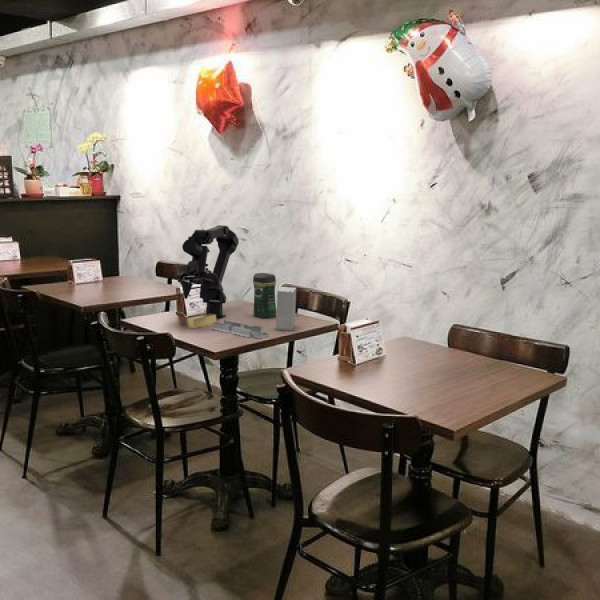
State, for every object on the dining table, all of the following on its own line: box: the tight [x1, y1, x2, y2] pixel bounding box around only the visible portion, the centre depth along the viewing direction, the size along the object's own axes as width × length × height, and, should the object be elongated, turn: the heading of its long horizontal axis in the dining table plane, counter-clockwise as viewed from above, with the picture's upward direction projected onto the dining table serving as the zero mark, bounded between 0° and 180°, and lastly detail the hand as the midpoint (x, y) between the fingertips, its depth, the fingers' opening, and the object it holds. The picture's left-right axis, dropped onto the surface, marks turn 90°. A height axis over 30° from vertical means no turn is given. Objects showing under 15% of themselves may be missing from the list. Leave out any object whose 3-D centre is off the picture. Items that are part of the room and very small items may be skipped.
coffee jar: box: [252, 272, 277, 319], centre depth 279 cm, size 10×8×19 cm
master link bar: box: [188, 313, 217, 330], centre depth 263 cm, size 3×12×4 cm, turn 140°
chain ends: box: [212, 319, 270, 340], centre depth 252 cm, size 8×24×3 cm, turn 50°
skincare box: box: [275, 286, 297, 331], centre depth 258 cm, size 8×7×16 cm
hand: (193, 298), depth 258 cm, fingers open, 9 cm apart
